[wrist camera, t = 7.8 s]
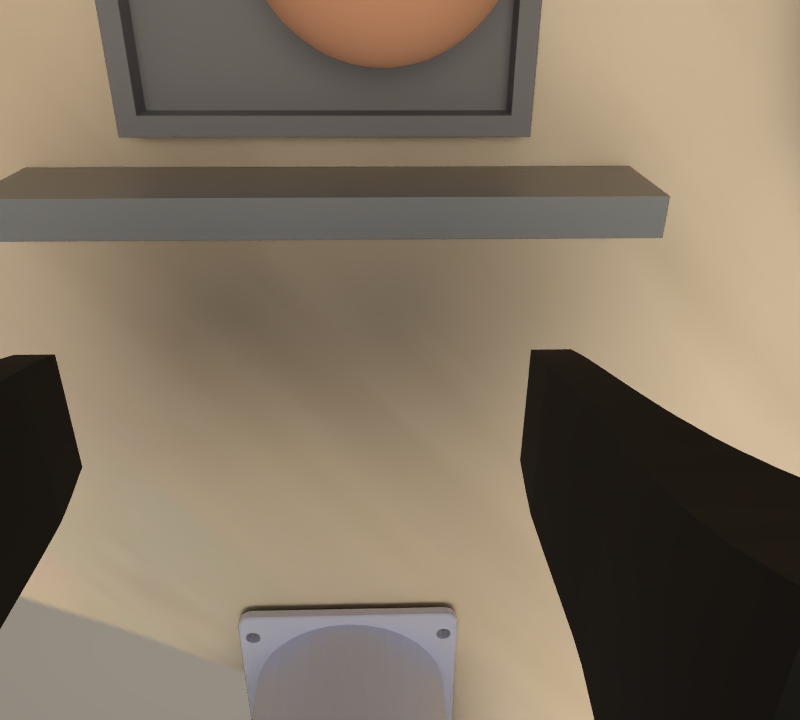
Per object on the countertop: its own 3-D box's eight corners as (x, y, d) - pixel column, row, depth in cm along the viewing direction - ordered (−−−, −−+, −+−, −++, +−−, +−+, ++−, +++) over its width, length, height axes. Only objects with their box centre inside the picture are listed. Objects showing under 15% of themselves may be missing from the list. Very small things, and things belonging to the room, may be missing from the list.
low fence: (623, 203, 20) (662, 238, 17) (33, 205, 19) (-22, 241, 17) (629, 166, 19) (669, 196, 17) (24, 167, 19) (-33, 199, 16)
